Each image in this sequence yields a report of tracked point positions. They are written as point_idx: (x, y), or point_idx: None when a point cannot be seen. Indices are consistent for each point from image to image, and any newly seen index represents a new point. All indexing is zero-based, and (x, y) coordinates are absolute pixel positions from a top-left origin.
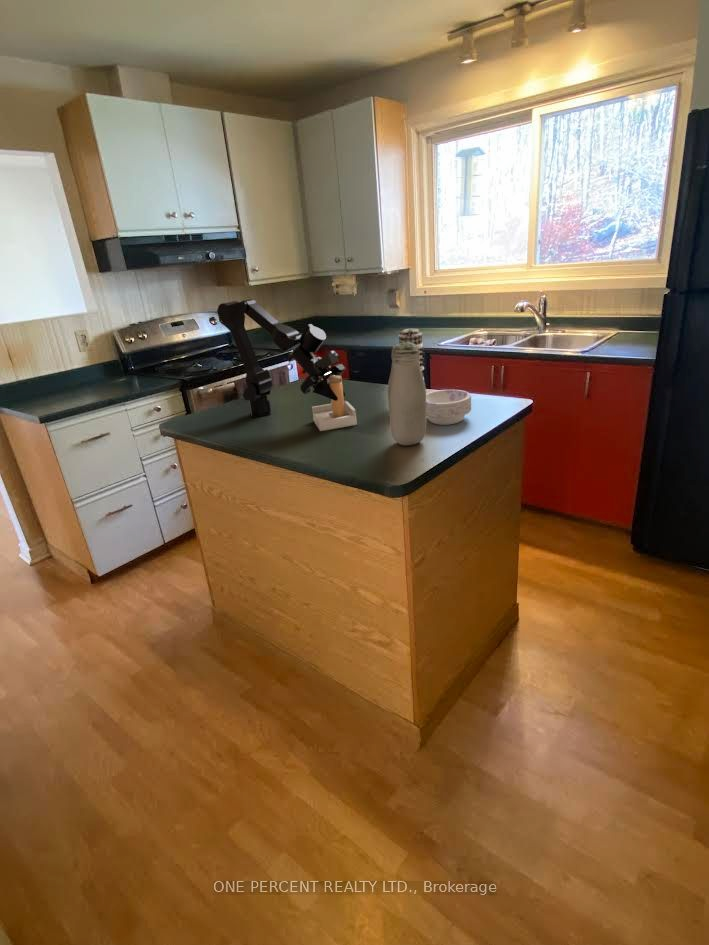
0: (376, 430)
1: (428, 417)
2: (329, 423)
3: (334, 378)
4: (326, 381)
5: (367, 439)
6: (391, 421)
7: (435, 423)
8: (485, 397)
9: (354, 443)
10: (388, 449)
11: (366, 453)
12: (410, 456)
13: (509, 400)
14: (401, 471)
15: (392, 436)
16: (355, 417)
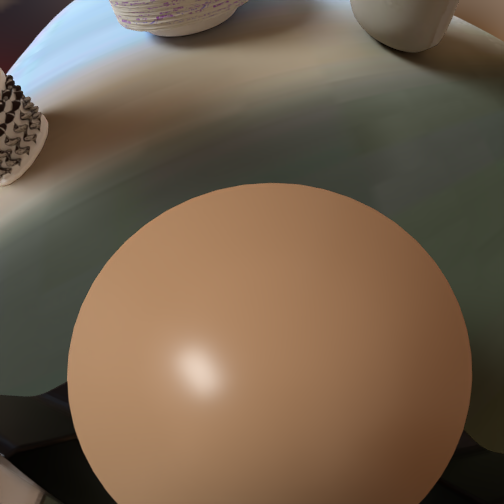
0: (331, 130)
1: (218, 16)
2: None
3: (454, 310)
4: (472, 479)
5: (424, 134)
6: (451, 9)
7: (231, 15)
8: (40, 39)
9: (470, 166)
10: (448, 72)
11: (495, 115)
12: (447, 37)
13: (72, 6)
14: (499, 52)
15: (435, 44)
16: None
